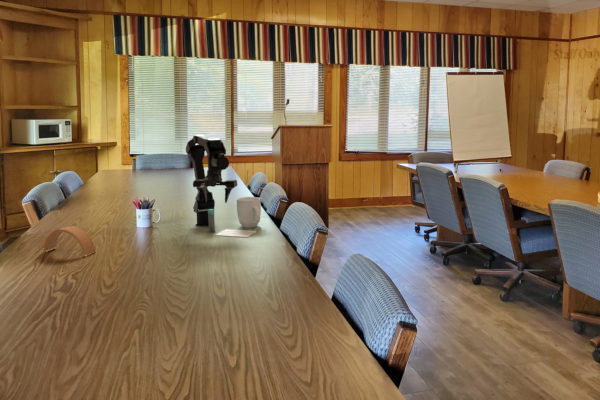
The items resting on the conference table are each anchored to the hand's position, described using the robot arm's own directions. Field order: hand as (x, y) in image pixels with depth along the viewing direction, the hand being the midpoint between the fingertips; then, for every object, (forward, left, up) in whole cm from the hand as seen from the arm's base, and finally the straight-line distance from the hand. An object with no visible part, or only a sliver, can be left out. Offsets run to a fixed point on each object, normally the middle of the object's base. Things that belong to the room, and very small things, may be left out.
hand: (215, 202), depth 241 cm
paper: (+10, -2, -13) cm, 17 cm away
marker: (-2, -1, -13) cm, 13 cm away
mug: (+11, +12, -13) cm, 21 cm away
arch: (-41, -46, -13) cm, 63 cm away
